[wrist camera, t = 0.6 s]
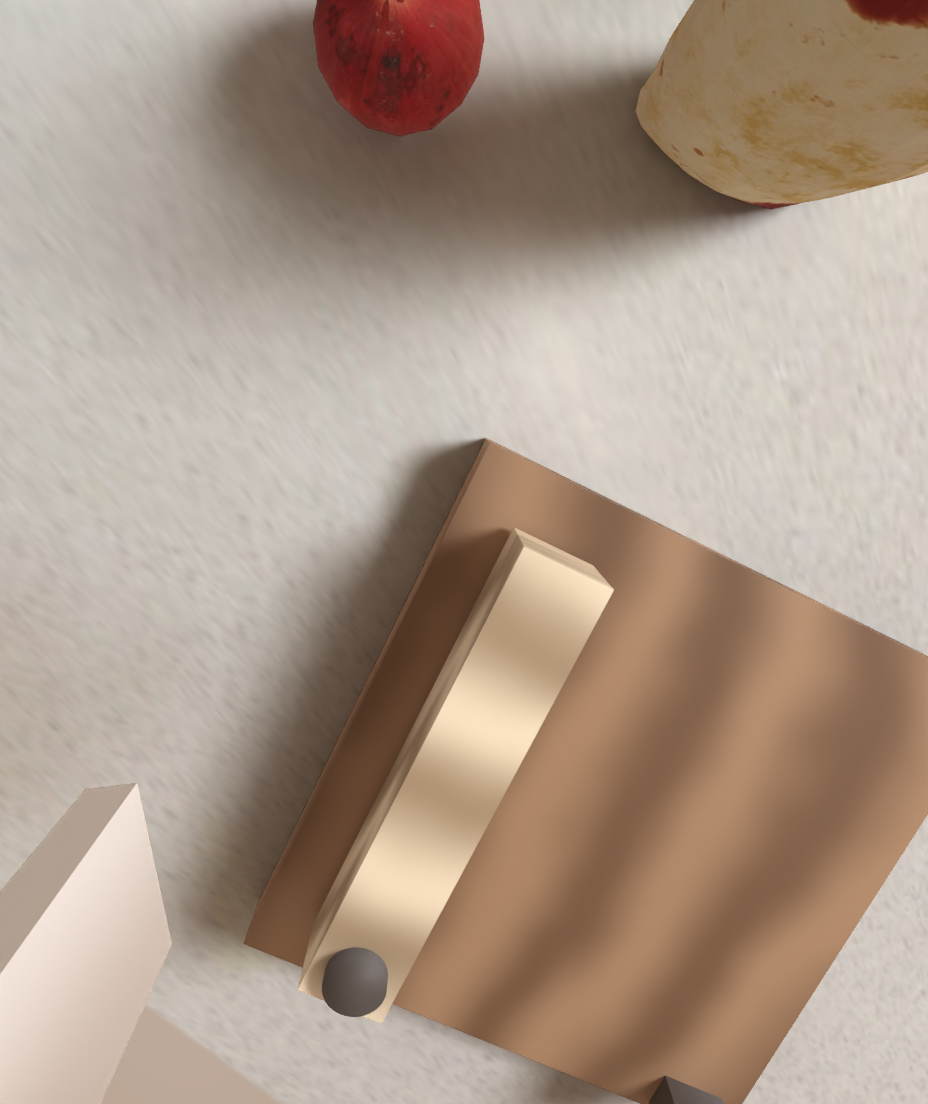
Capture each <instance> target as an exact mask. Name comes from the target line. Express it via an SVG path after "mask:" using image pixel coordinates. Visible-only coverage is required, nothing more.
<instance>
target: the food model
mask: <svg viewBox="0 0 928 1104" xmlns="http://www.w3.org/2000/svg"><path fill="white" fill-rule="evenodd" d="M635 111H636V114H637V117H638V119H639V122H640V125H641V127H642V128H643V129H644V130H645V132H646V133H647V134H648V135H649V136H650V137H651V139H652V140H653V141H654V142H655V143H656V144H657V145H658V146H659V147H660V148H661V150H662V151H663V152H664V153H665V154H666V155H667V156H668V157H669V158H670V159H672V160H673V161H674V162H675V163H676V164H677V165H678V166H679V167H681V168H682V169H683V170H684V171H685V172H686V173H687V174H689V175H690V176H692V177H693V178H695V179H697V180H698V181H700V182H701V183H703V184H705V185H706V186H708V187H709V188H711V189H712V190H714V191H717V192H719V193H722V194H724V195H727V196H729V197H732V198H734V199H737V200H740V201H742V202H745V203H749V204H753V205H757V206H761V207H765V208H769V209H774V208H779V207H784V206H790V205H795V204H799V203H803V202H809V201H815V200H820V199H825V198H830V197H834V196H838V195H842V194H846V193H850V192H854V191H858V190H862V189H866V188H870V187H874V186H878V185H882V184H886V183H890V182H894V181H898V180H902V179H905V178H909V177H912V176H916V175H919V174H923V173H926V172H928V0H694V1H693V3H692V5H691V6H690V8H689V9H688V11H687V12H686V14H685V16H684V17H683V19H682V20H681V22H680V23H679V25H678V27H677V28H676V30H675V31H674V33H673V34H672V36H671V38H670V39H669V41H668V44H667V46H666V48H665V50H664V52H663V54H662V56H661V59H660V61H659V63H658V65H657V67H656V68H655V70H654V71H653V72H652V74H651V75H650V77H649V78H648V80H647V81H646V83H645V84H644V86H643V87H642V89H641V91H640V94H639V98H638V102H637V106H636V110H635Z"/></svg>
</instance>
